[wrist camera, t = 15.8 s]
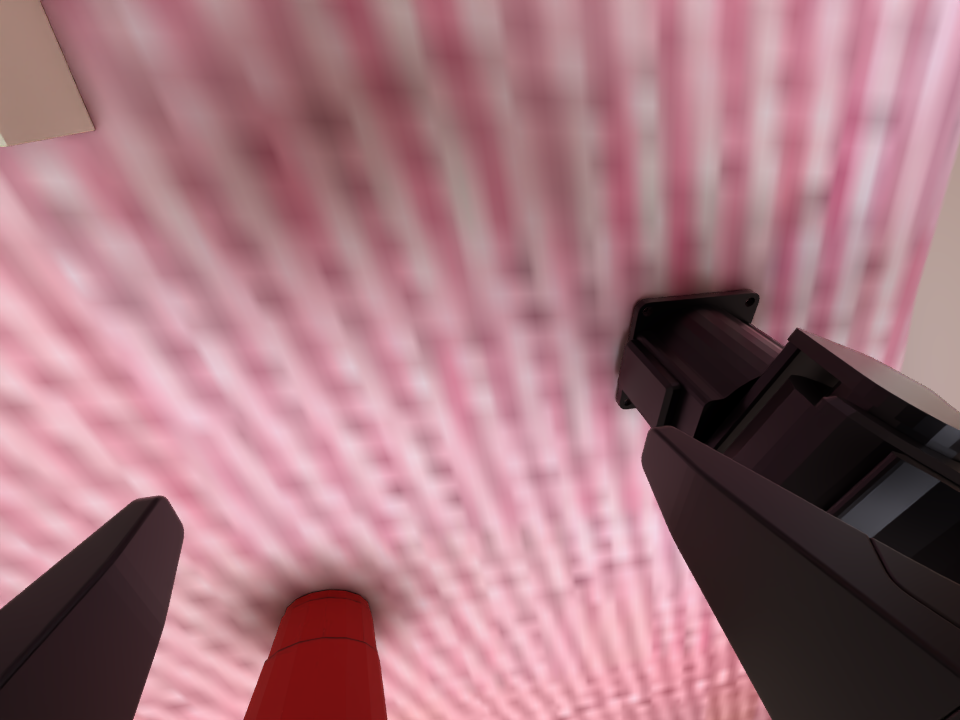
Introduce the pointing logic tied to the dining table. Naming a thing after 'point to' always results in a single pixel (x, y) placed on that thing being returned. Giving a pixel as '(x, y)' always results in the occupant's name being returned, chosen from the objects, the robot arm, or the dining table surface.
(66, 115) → the white square frame
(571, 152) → the dining table surface
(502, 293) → the dining table surface
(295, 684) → the plastic cup
